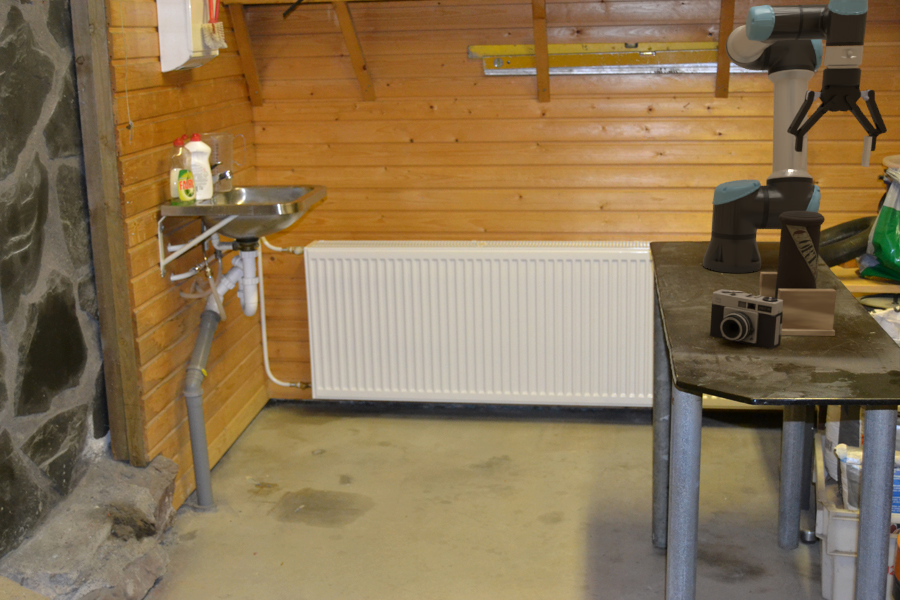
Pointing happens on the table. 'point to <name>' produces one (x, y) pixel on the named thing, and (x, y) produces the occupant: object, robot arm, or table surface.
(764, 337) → the camera
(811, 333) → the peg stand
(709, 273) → the table surface
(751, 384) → the table surface
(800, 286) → the container
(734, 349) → the table surface
